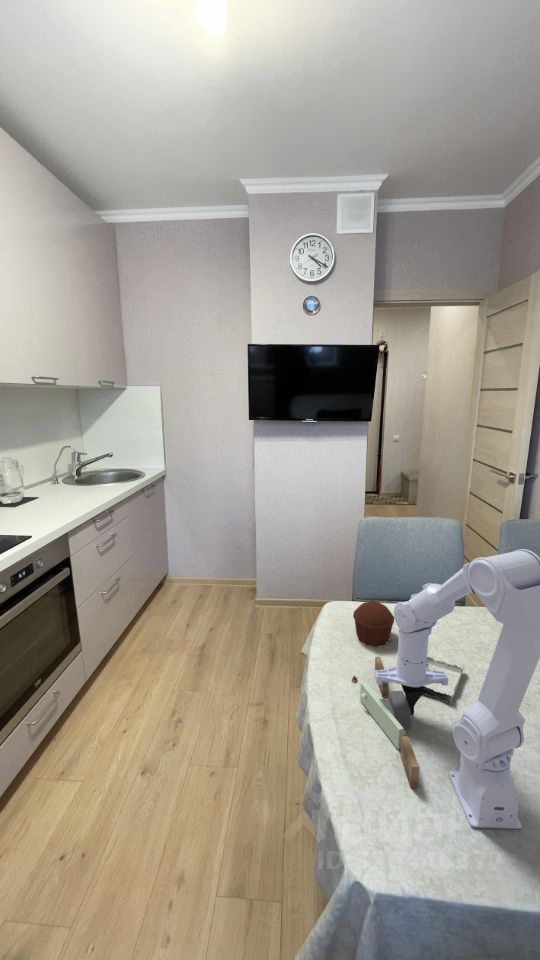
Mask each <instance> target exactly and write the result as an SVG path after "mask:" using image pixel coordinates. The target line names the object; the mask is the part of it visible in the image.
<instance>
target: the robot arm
mask: <svg viewBox="0 0 540 960" xmlns="http://www.w3.org/2000/svg"><path fill="white" fill-rule="evenodd" d="M421 587H422V590H421V591H419V592H418V593H413V594H411V595H410V599H409V600H407V601H404V602H403V601H398V602H397V603H396V605H395V606H394V608H393V616H394V623H395V624H396V626H397V627H398V643H397V644H398V645H397V661H396V663H397V664H396V666H394V667H390V668H389V667H388V668H384V670H375V669H374V681H375V683H376V685H377V686H378V685H381V684H382V682H385V683H388V684H390V683H391V684H392V683H394V684H398V685H401V688H402V691H403V693H404V695H405V698H406V700H407V703H408V705H409V708H410V710H411V716H414V714H415V706H416V704H417V702H418V701H419V699H421V697H423V696H424V694H423V693H424V689H423V687H422V686H425V687H426V686H428V685H432V684H441V685H442V686H447V687H448V685H449V676H448V674H447V673H446V671H444V670H435V669H432V668H428V663H427V657H428V650H429V649H428V648H429V637H430V635H431V634H432V630H433V628H434V627H435V626H436V624H437V622H438V620H441V619H443V618H444V617H446V616H447V615H449V614H451V613H452V612H453V611H454V609H455V608H456V601H458V600H460V599H462V598H464V597H466V596H468V595H470V594H472V595H473V594H475V595H476V596H477V597H478V598H479V600H480V601H481V603H482V604H483V605H484V606H485V607H486V609H487V610H488V611H489V613H490V614H491V616H492V617H493V618H494V620H495V621H496V622H499V623H501V624H502V625H503V626H502V628H501V631H500V634H499V637H498V640H497V641H496V644H495V648H494V652H493V654H492V657H491V660H490V662H489V666H488V669H487V671H486V674H485V678H484V681H483V683H482V686H481V689H480V692H479V695H478V697H477V699H476V700H475V702H473V703H472V704H471V705H470V706H469V707H468V708H467V709H466V710H464V712H463V713H462V716H461V718H459V719H457V720H455V722H454V723H453V726H452V737H453V740H454V743H455V745H456V747H457V749H458V751H459V752H460V758H459V759H460V760H459V769H458V770H450V771H448V776H449V778H450V780H451V781H450V782H452V785H453V787H454V789H455V790H454V791H455V792H456V795H457V797H458V799H459V801H460V802H459V803H460V804H461V806H462V809H463V811H464V813H465V816H466V818H467V820H468V823H469V825H470V827H472V828H484V829H485V828H486V829H487V828H488V829H517V830H518V829H521V828H522V823H521V821H520V819H519V817H518V814H519V809H520V807H519V805H520V799H521V797H520V793H519V790H518V788H517V786H516V783H514V779H513V776H512V770H511V759H512V757H513V756H514V752H515V751H514V750H515V749H518V748H521V747H522V746H523V745H524V741H525V733H524V725H525V721H526V719H525V717H524V716H523V714H522V713H521V712H520V710H519V709H520V707H521V705H522V702H523V700H524V698H525V695H526V693H527V690H528V687H529V685H530V684H531V683H530V682H531V680H532V678H533V675H534V673H535V670H536V668H537V666H538V663H539V661H540V556H539V555H538V554H537V553H535V552H534V551H531V550H529V549H526V548H525V549H524V548H521V549H520V548H519V549H516V550H512V551H511V552H510V551H509V552H506V553H500V554H495V555H491V556H487V557H485V556H482V557H477V558H474V559H473V560H472V561H470V562H467V563H465V564H463V566H462V568H461V569H459V571H457V572H456V573H454V574H453V575H452V576H451V577H450V578H448V579H447V580H446V581H445V582H443V583H442V584H441V583H440V584H439V583H432V582H429V583H426V584H423V585H422V586H421Z"/></svg>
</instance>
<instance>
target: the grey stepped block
mask: <svg viewBox="0 0 540 960" xmlns="http://www.w3.org/2000/svg"><path fill="white" fill-rule="evenodd" d="M379 700H380V701H381V702H382V703H383V704H384V706H385V707H386V708H387V709H388V710H389V711H390V713H391V714H392V715H393V716H394V717H395V719H396V720H397V721H398V722H399V723H400V725H401V726H402V727H403V728H404V729H411V726H412V725H411V723H412V715H411V710H410V708H409V705H408V703H407V700H406V698H405V693H404V691H403V690H389V691H388V698H379Z"/></svg>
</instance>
